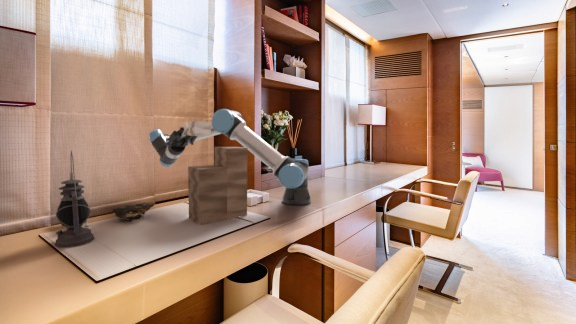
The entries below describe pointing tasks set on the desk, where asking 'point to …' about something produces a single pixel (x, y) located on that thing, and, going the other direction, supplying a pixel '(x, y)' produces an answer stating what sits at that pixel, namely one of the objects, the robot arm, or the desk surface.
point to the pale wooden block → (199, 129)
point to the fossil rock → (132, 211)
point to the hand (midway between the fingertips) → (191, 125)
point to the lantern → (73, 214)
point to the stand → (219, 187)
